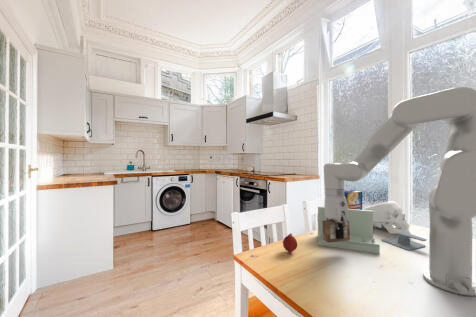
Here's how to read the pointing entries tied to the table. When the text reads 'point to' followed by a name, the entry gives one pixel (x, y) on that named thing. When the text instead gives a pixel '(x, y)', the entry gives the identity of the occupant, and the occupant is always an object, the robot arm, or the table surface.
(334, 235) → the frame
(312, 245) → the table surface
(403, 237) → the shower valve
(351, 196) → the beverage box
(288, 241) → the onion
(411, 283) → the table surface
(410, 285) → the table surface
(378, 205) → the skull planter
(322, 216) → the ledge
